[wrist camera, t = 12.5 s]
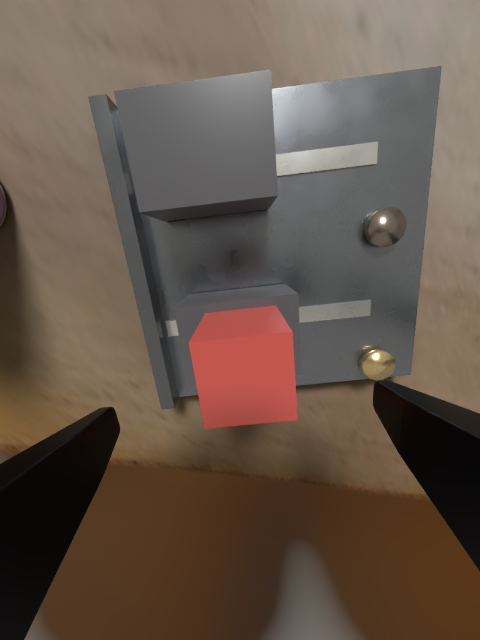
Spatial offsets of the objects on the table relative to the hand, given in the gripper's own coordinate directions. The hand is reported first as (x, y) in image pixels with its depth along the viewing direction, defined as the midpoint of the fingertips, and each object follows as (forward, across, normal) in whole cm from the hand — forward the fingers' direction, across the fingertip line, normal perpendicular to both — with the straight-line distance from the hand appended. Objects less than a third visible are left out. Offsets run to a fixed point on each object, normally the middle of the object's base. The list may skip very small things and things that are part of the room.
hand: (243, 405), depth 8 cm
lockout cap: (+6, 0, 0) cm, 6 cm away
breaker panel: (+12, -3, -4) cm, 13 cm away
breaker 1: (+10, +1, -10) cm, 14 cm away
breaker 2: (+10, 0, 0) cm, 10 cm away
